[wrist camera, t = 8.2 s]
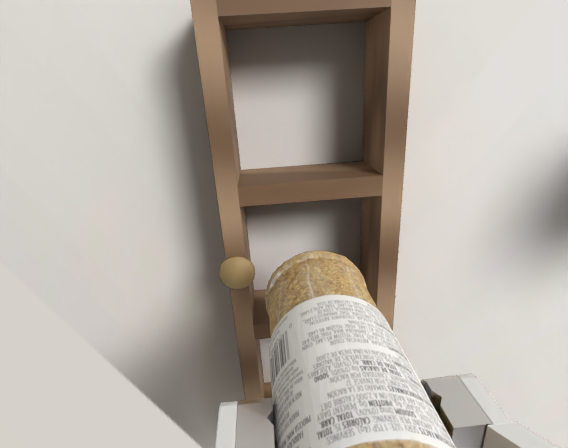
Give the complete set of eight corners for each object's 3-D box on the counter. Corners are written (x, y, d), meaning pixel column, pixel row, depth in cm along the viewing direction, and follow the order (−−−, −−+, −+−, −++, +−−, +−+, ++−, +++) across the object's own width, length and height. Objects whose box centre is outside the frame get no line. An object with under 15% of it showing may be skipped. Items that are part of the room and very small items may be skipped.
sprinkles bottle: (334, 342, 17) (561, 1075, 4) (247, 314, 16) (231, 1178, 3) (382, 266, 15) (922, 1047, 3) (290, 229, 14) (540, 1214, 2)
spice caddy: (370, 382, 26) (387, 428, 23) (246, 395, 26) (244, 443, 22) (387, -3, 17) (421, -27, 13) (193, 7, 17) (176, -14, 13)
